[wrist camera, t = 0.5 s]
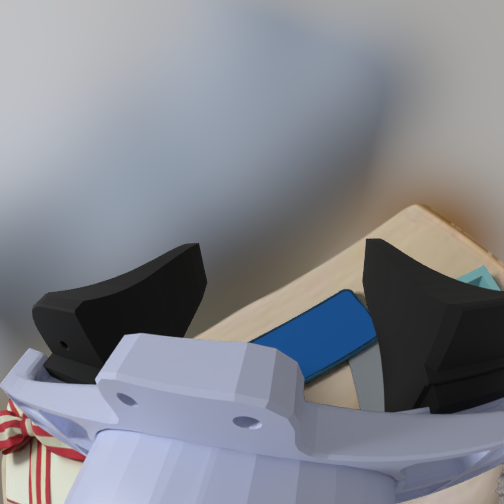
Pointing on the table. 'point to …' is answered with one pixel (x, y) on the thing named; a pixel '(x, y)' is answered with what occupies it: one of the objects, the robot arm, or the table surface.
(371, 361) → the board
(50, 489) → the gift box
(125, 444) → the robot arm
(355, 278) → the table surface
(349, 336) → the smartphone
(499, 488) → the sea urchin shell
